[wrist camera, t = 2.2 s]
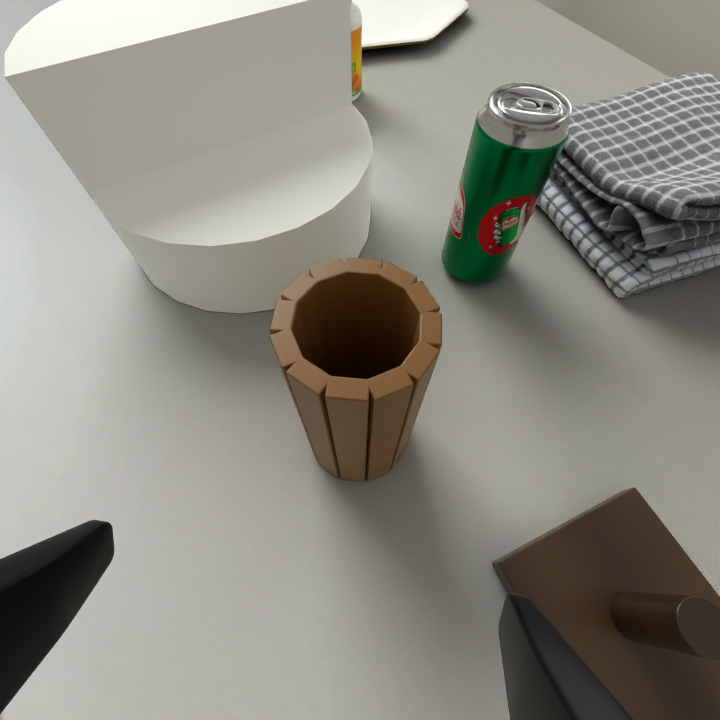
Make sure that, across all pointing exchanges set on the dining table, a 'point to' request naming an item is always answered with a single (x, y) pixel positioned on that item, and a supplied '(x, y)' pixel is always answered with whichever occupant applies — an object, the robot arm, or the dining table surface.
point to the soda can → (504, 177)
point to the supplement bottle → (356, 49)
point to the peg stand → (627, 607)
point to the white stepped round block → (207, 135)
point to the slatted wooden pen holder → (357, 360)
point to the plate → (406, 20)
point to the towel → (642, 183)
